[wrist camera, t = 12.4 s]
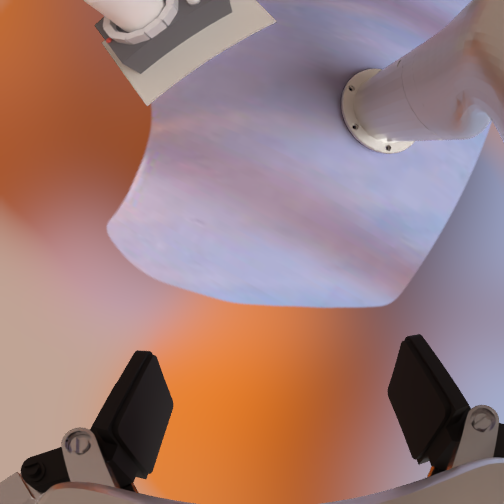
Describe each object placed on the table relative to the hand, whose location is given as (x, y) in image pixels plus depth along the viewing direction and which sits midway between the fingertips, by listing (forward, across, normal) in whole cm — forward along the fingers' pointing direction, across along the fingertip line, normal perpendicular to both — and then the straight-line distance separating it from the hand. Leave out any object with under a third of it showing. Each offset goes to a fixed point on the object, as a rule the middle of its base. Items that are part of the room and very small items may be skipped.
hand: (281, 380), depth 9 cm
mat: (+30, +10, -30) cm, 44 cm away
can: (+24, +14, -30) cm, 41 cm away
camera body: (+30, +12, -31) cm, 45 cm away
